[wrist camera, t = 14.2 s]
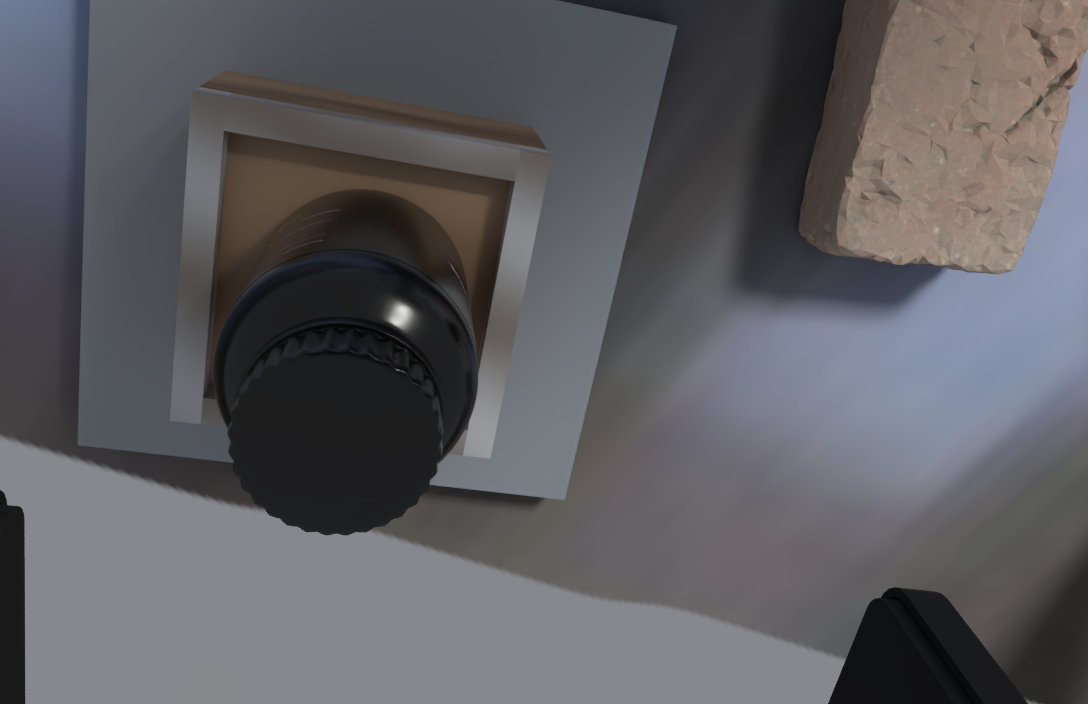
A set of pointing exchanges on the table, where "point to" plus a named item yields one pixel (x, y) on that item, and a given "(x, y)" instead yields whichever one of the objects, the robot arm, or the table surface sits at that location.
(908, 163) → the brick
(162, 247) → the baseplate
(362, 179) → the plinth
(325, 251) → the supplement bottle
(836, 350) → the table surface
